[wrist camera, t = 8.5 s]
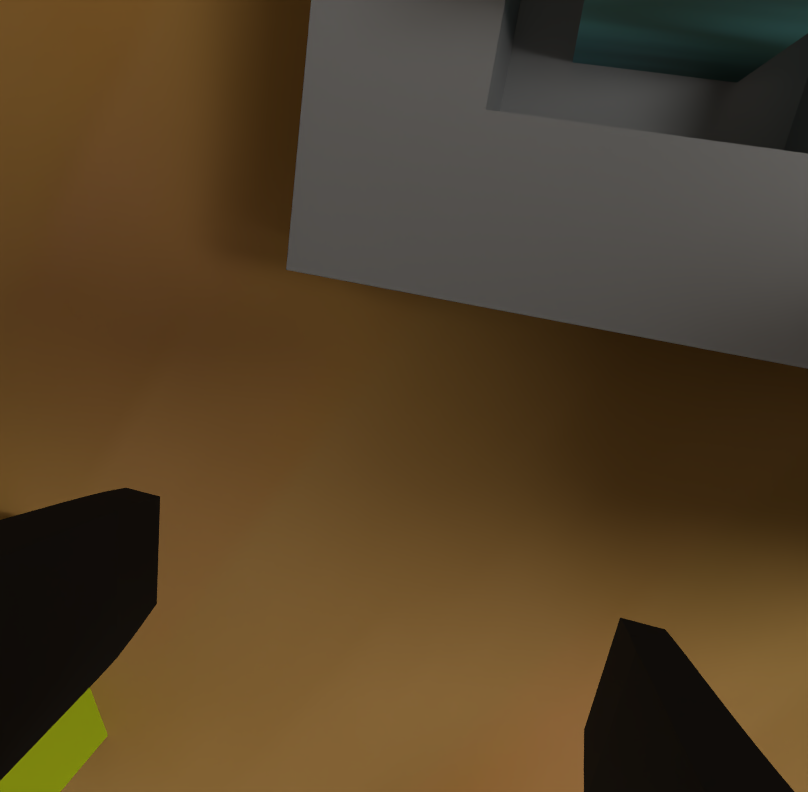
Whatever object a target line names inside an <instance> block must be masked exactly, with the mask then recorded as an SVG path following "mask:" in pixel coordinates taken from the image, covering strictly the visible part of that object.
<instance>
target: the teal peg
mask: <svg viewBox="0 0 808 792" xmlns="http://www.w3.org/2000/svg"><path fill="white" fill-rule="evenodd" d="M807 33H808V0H584V4H583V10H582V15H581V20H580V25H579V30H578V36H577V41H576V46H575V51H574V56H573V63H582V64H590V65H598V66H606V67H614V68H622V69H630V70H638V71H647V72H655V73H663V74H671V75H679V76H687V77H695V78H703V79H711V80H720V81H728V82H736V83H737V82H739V81H740V80H741V79H743V78H744V77H746V76H747V75H749V74H750V73H751V72H753V71H754V70H756V69H757V68H759V67H760V66H762V65H763V64H764V63H766V62H767V61H769V60H770V59H772V58H773V57H774V56H776V55H777V54H779V53H780V52H782V51H783V50H785V49H786V48H787V47H789V46H790V45H792V44H793V43H795V42H796V41H797V40H799V39H800V38H802V37H803V36H805V35H806V34H807Z"/></svg>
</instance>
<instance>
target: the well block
mask: <svg viewBox="0 0 808 792" xmlns="http://www.w3.org/2000/svg"><path fill="white" fill-rule="evenodd" d="M583 4H584V0H311V8H310V19H309V30H308V40H307V51H306V62H305V73H304V84H303V94H302V105H301V116H300V127H299V137H298V148H297V159H296V170H295V181H294V191H293V202H292V213H291V224H290V234H289V245H288V256H287V267H286V270H290V271H296V272H301V273H306V274H311V275H317V276H322V277H327V278H333V279H338V280H343V281H348V282H354V283H359V284H364V285H369V286H375V287H380V288H385V289H390V290H396V291H401V292H406V293H412V294H417V295H422V296H427V297H433V298H438V299H443V300H448V301H454V302H459V303H464V304H470V305H475V306H480V307H485V308H491V309H496V310H501V311H506V312H512V313H517V314H522V315H527V316H533V317H538V318H543V319H549V320H554V321H559V322H564V323H570V324H575V325H580V326H585V327H591V328H596V329H601V330H606V331H612V332H617V333H622V334H628V335H633V336H638V337H643V338H649V339H654V340H659V341H664V342H670V343H675V344H680V345H686V346H691V347H696V348H701V349H707V350H712V351H717V352H722V353H728V354H733V355H738V356H743V357H749V358H754V359H759V360H765V361H770V362H775V363H780V364H786V365H791V366H796V367H801V368H807V369H808V33H807V34H806V35H805V36H803V37H802V38H800V39H799V40H797V41H796V42H795V43H793V44H792V45H790V46H789V47H787V48H786V49H785V50H783V51H782V52H780V53H779V54H777V55H776V56H774V57H773V58H772V59H770V60H769V61H767V62H766V63H764V64H763V65H762V66H760V67H759V68H757V69H756V70H754V71H753V72H751V73H750V74H749V75H747V76H746V77H744V78H743V79H741V80H740V81H739V82H737V83H736V82H728V81H720V80H711V79H703V78H695V77H687V76H679V75H671V74H663V73H655V72H647V71H638V70H630V69H622V68H614V67H606V66H598V65H590V64H582V63H573V56H574V51H575V46H576V41H577V36H578V30H579V25H580V20H581V15H582V10H583Z"/></svg>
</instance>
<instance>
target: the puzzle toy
mask: <svg viewBox="0 0 808 792" xmlns="http://www.w3.org/2000/svg"><path fill="white" fill-rule="evenodd" d="M107 736H108V735H107V732H106V729H105V727H104V724H103V721H102V719H101V716H100V713H99V711H98V708H97V705H96V703H95V700H94V697H93V695H92V692H91V689H90V687H89V688H88V689H87V691H86V692H85V693H84V694H83V695H82V696H81V697H80V698H79V699H78V700H77V701H76V702H75V703H74V704H73V705H72V706H71V707H70V708H69V710H68V711H67V712H66V713H65V714H64V715H63V716H62V717H61V718H60V719H59V720H58V721H57V722H56V723H55V724H54V725H53V726H52V727H51V728H50V729H49V730H48V731H47V733H46V734H45V735H44V736H43V737H42V738H41V739H40V740H39V741H38V742H37V743H36V744H35V745H34V746H33V747H32V748H31V749H30V750H29V751H28V752H27V753H26V754H25V756H24V757H23V758H22V759H21V760H20V761H19V762H18V763H17V764H16V765H15V766H14V767H13V768H12V769H11V770H10V771H9V772H8V773H7V774H6V775H5V776H4V777H3V779H2V780H1V781H0V792H61V790H62V789H63V788H64V787H65V786H66V785H67V783H68V782H69V781H70V780H71V779H72V777H73V776H74V775H75V774H76V773H77V771H78V770H79V769H80V768H81V767H82V765H83V764H84V763H85V762H86V761H87V760H88V758H89V757H90V756H91V755H92V754H93V752H94V751H95V750H96V749H97V748H98V746H99V745H100V744H101V743H102V742H103V741H104V739H105V738H106V737H107Z"/></svg>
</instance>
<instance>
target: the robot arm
mask: <svg viewBox="0 0 808 792" xmlns="http://www.w3.org/2000/svg"><path fill="white" fill-rule="evenodd" d="M159 512H160V497H159V496H156V495H152V494H148V493H144V492H140V491H136V490H133V489H129V488H122V489H117V490H111V491H106V492H102V493H98V494H94V495H90V496H86V497H82V498H78V499H74V500H71V501H67V502H63V503H59V504H56V505H52V506H49V507H45V508H42V509H38V510H34V511H31V512H27V513H24V514H20V515H16V516H13V517H9V518H6V519H2V520H0V781H1V780H2V779H3V777H4V776H5V775H6V774H7V773H8V772H9V771H10V770H11V769H12V768H13V767H14V766H15V765H16V764H17V763H18V762H19V761H20V760H21V759H22V758H23V757H24V756H25V754H26V753H27V752H28V751H29V750H30V749H31V748H32V747H33V746H34V745H35V744H36V743H37V742H38V741H39V740H40V739H41V738H42V737H43V736H44V735H45V734H46V733H47V731H48V730H49V729H50V728H51V727H52V726H53V725H54V724H55V723H56V722H57V721H58V720H59V719H60V718H61V717H62V716H63V715H64V714H65V713H66V712H67V711H68V710H69V708H70V707H71V706H72V705H73V704H74V703H75V702H76V701H77V700H78V699H79V698H80V697H81V696H82V695H83V694H84V693H85V692H86V691H87V689H88V688H89V687H90V686H91V685H92V684H93V683H94V682H95V681H96V680H97V679H98V678H99V677H100V676H101V675H102V673H103V672H104V671H105V670H106V669H107V668H108V667H109V666H110V665H111V664H112V663H113V662H114V660H115V659H116V658H117V657H118V656H119V654H120V653H121V652H122V650H123V649H124V648H125V646H126V645H127V644H128V643H129V641H130V640H131V639H132V637H133V636H134V635H135V633H136V632H137V631H138V629H139V628H140V626H141V625H142V624H143V622H144V621H145V619H146V618H147V617H148V615H149V614H150V612H151V611H152V609H153V608H154V607H155V605H156V604H157V575H158V544H159ZM584 792H794V791H793V790H792V788H791V787H790V786H789V785H788V784H787V782H786V781H785V780H784V779H783V778H782V776H781V775H780V774H779V773H778V772H777V771H776V769H775V768H774V767H773V766H772V764H771V763H770V762H769V761H768V760H767V758H766V757H765V756H764V755H763V753H762V752H761V751H760V750H759V749H758V747H757V746H756V745H755V744H754V742H753V741H752V740H751V739H750V737H749V736H748V735H747V734H746V732H745V731H744V730H743V729H742V727H741V726H740V725H739V723H738V722H737V721H736V720H735V718H734V717H733V716H732V715H731V713H730V712H729V711H728V709H727V708H726V707H725V706H724V704H723V703H722V702H721V700H720V699H719V698H718V697H717V695H716V694H715V693H714V691H713V690H712V689H711V687H710V686H709V685H708V684H707V682H706V681H705V680H704V678H703V677H702V676H701V674H700V673H699V672H698V670H697V669H696V668H695V667H694V665H693V664H692V663H691V661H690V660H689V659H688V657H687V656H686V655H685V654H684V652H683V651H682V650H681V648H680V647H679V646H678V645H677V643H676V642H675V641H674V640H673V638H672V637H671V636H670V635H669V634H668V632H667V631H666V630H665V629H661V628H658V627H654V626H650V625H646V624H642V623H639V622H635V621H631V620H627V619H623V618H620V620H619V623H618V626H617V629H616V632H615V635H614V639H613V642H612V645H611V648H610V651H609V654H608V657H607V660H606V664H605V667H604V670H603V673H602V676H601V679H600V682H599V685H598V688H597V692H596V695H595V698H594V701H593V704H592V707H591V710H590V713H589V717H588V720H587V723H586V726H585V729H584Z"/></svg>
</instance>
